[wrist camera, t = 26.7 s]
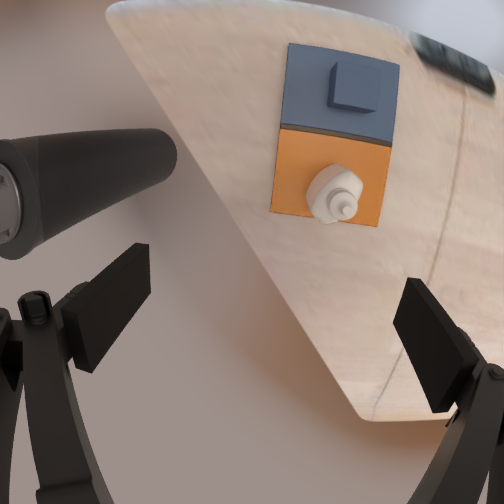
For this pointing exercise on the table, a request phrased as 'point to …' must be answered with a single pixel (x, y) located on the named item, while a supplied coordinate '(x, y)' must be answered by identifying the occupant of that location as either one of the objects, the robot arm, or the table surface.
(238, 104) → the table surface
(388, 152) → the sorting board
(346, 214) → the eye dropper bottle
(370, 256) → the table surface
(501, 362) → the table surface
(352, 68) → the blue block
